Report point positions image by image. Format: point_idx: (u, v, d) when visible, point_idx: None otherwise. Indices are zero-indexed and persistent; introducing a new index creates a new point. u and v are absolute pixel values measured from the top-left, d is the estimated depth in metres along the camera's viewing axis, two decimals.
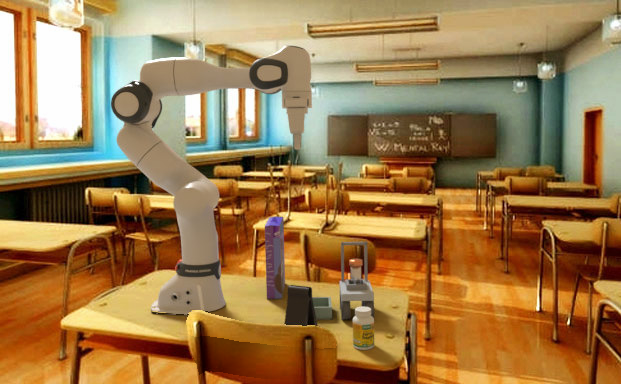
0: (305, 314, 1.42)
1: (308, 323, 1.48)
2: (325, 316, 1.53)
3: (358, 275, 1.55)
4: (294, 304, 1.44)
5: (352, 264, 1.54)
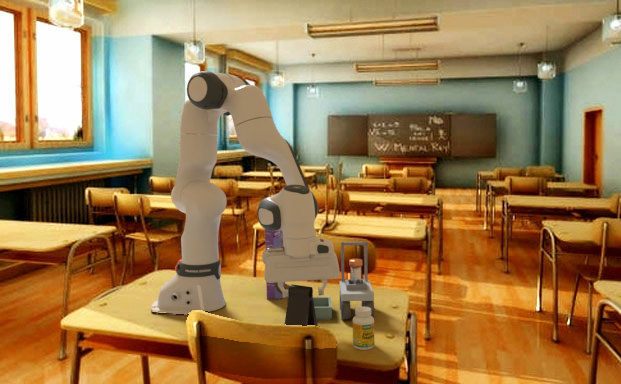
0: (305, 314, 1.42)
1: (308, 323, 1.48)
2: (325, 316, 1.53)
3: (358, 275, 1.55)
4: (295, 304, 1.44)
5: (352, 264, 1.54)
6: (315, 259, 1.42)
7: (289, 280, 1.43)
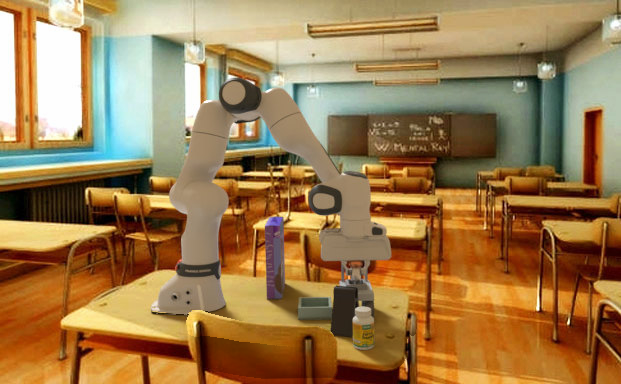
0: (352, 315, 1.41)
1: None
2: (325, 316, 1.53)
3: (358, 275, 1.55)
4: (340, 305, 1.43)
5: (352, 264, 1.54)
6: (369, 240, 1.53)
7: (344, 259, 1.54)
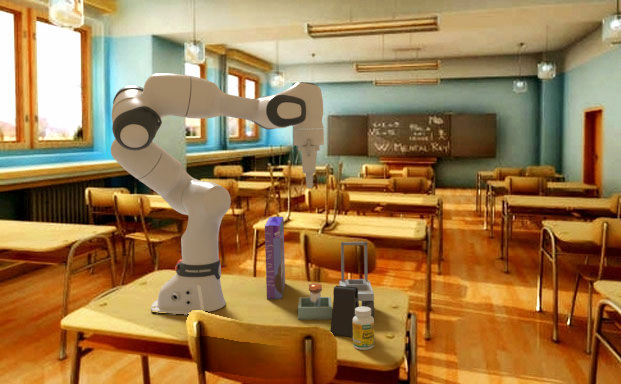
0: (352, 315, 1.41)
1: None
2: (325, 316, 1.53)
3: None
4: (340, 305, 1.43)
5: (320, 289, 1.56)
6: None
7: None
